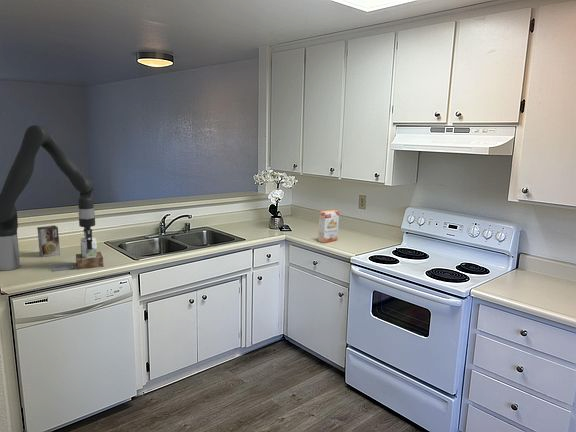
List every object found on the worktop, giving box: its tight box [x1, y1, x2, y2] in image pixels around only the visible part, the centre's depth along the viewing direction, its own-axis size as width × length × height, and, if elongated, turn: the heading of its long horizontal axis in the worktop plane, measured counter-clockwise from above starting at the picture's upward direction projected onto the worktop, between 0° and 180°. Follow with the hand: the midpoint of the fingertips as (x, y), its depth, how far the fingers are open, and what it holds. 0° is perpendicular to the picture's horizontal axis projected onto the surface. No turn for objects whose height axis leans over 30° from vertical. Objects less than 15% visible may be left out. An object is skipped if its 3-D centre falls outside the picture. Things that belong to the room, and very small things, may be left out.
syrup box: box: [80, 236, 98, 258], centre depth 217 cm, size 6×6×14 cm
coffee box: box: [36, 224, 61, 258], centre depth 234 cm, size 9×6×16 cm
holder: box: [75, 251, 104, 270], centre depth 218 cm, size 12×12×5 cm
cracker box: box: [317, 209, 340, 244], centre depth 283 cm, size 14×6×21 cm, turn 131°
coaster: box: [52, 263, 74, 273], centre depth 212 cm, size 9×9×1 cm
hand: (88, 247), depth 217 cm, fingers open, 8 cm apart
